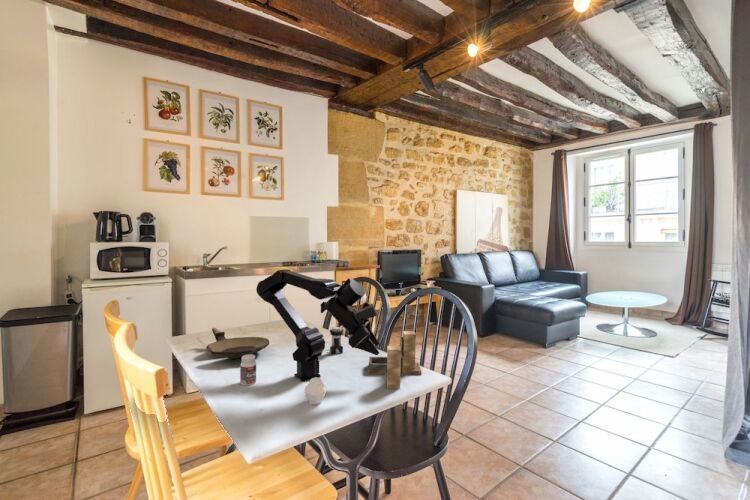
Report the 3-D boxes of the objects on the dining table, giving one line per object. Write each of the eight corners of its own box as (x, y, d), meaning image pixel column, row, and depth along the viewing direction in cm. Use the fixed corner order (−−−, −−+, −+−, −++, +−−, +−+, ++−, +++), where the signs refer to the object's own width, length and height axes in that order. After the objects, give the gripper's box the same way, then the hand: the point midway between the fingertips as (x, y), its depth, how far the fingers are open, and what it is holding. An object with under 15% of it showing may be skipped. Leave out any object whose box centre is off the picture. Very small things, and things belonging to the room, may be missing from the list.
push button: (328, 356, 136) (329, 330, 136) (324, 352, 141) (324, 327, 141) (344, 354, 139) (345, 328, 139) (340, 349, 144) (340, 325, 144)
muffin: (327, 397, 102) (328, 373, 102) (325, 407, 96) (325, 382, 96) (306, 396, 102) (306, 373, 102) (302, 407, 96) (302, 381, 96)
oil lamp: (211, 371, 119) (211, 349, 119) (201, 347, 145) (201, 328, 144) (277, 360, 131) (277, 339, 131) (256, 339, 157) (257, 322, 156)
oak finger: (387, 388, 109) (387, 349, 108) (386, 382, 113) (387, 345, 112) (402, 388, 109) (402, 350, 108) (401, 383, 113) (401, 345, 112)
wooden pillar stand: (368, 373, 120) (369, 335, 119) (368, 365, 128) (369, 329, 127) (421, 374, 120) (422, 336, 119) (418, 365, 128) (419, 329, 127)
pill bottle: (248, 387, 108) (248, 360, 108) (236, 384, 110) (236, 357, 110) (259, 381, 112) (259, 355, 112) (248, 378, 114) (248, 353, 114)
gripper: (360, 301, 100) (398, 340, 101) (363, 290, 119) (395, 323, 119) (332, 328, 101) (370, 367, 101) (339, 313, 119) (371, 346, 120)
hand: (378, 349), depth 110 cm, fingers open, 9 cm apart
